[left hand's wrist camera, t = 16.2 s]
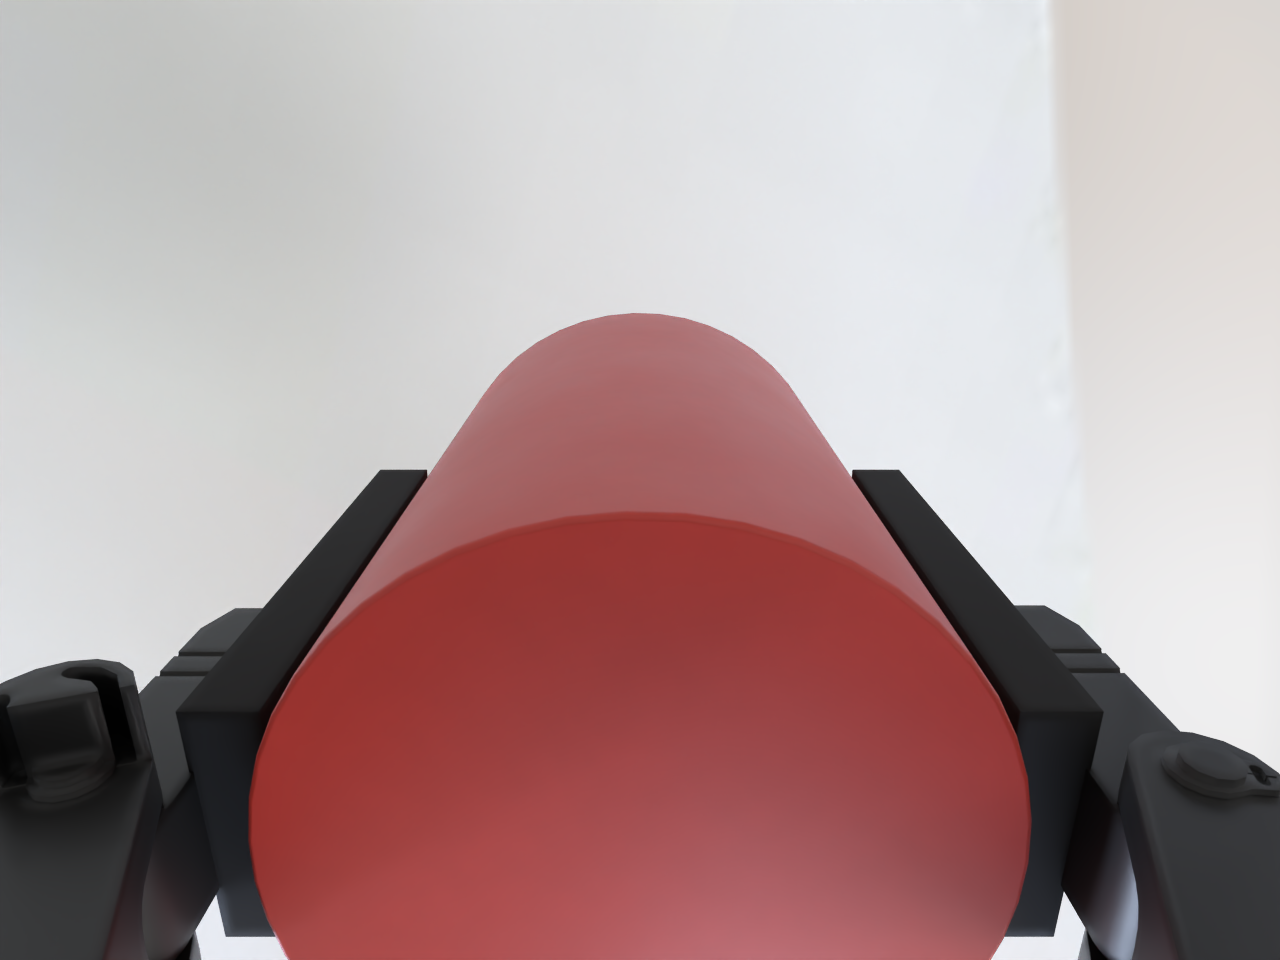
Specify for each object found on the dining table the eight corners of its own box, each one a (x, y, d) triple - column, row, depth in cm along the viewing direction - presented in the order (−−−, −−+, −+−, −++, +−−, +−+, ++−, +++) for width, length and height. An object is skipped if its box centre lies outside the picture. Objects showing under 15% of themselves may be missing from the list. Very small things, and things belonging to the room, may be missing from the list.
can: (852, 333, 15) (1138, 557, 6) (790, 667, 17) (936, 1156, 9) (462, 293, 15) (217, 471, 6) (452, 637, 17) (265, 1111, 9)
